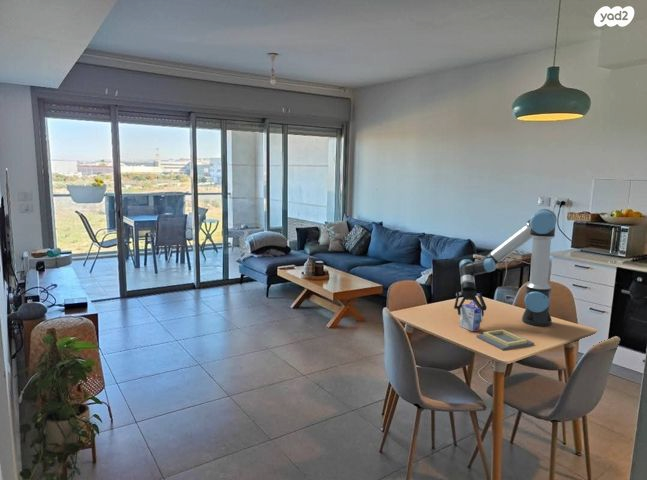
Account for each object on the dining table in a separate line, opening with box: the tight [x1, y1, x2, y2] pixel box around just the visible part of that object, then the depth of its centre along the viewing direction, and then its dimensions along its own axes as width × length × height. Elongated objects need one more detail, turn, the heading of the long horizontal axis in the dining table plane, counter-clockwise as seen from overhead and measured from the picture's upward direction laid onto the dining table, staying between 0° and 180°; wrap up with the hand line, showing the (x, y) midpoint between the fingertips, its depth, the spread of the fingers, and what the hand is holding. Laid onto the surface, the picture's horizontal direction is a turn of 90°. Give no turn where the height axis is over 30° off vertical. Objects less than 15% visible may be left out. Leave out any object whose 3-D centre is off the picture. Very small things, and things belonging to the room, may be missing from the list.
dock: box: [475, 329, 535, 351], centre depth 222 cm, size 20×18×2 cm
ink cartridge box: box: [459, 301, 481, 332], centre depth 238 cm, size 10×6×14 cm, turn 27°
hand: (471, 320), depth 235 cm, fingers closed on ink cartridge box, 9 cm apart
